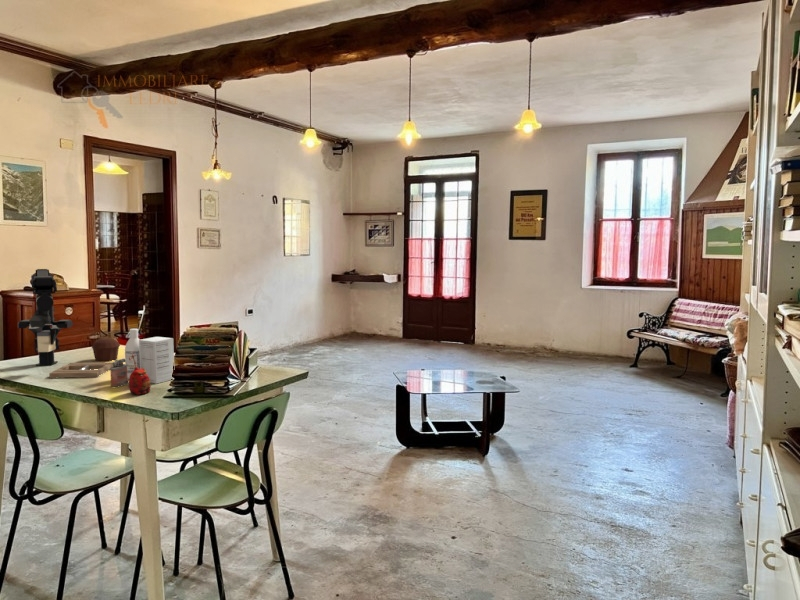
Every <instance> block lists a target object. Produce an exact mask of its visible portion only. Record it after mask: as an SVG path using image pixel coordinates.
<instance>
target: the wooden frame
mask: <svg viewBox="0 0 800 600" xmlns="http://www.w3.org/2000/svg"><path fill="white" fill-rule="evenodd" d="M113 362H114V361H107V362H69V363H68V364H66V365H63V366H62V367H60V368H57V369H55V370H53V371H52V372H49V374H48V375H49V379H57V378H56V377H87V378H99V377H100V376H99V375H101V374H102V375H103V373H104V374H106V373H107V372H109V371H110V368H111V367H113ZM90 369H91V370H90ZM94 369H98V370H94ZM108 370H109V371H108ZM106 371H107V372H106ZM102 375H101V376H102ZM98 376H99V377H98Z"/></svg>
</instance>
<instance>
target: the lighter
mask: <svg viewBox="0 0 800 600" xmlns="http://www.w3.org/2000/svg"><path fill="white" fill-rule="evenodd" d="M112 362H113V367H111V368H110V370H109V371H110V388H111V387H117V388H119V387H118V386H121V385H124V384H126V385H128V384H129V379H128V374H127V367H128V364H125V362H126V360H125V358H121V359H116V360H114V361H112ZM127 383H128V384H127ZM124 386H125V385H124ZM121 387H122V386H121Z"/></svg>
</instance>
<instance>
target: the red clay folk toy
mask: <svg viewBox="0 0 800 600" xmlns="http://www.w3.org/2000/svg"><path fill="white" fill-rule="evenodd" d="M131 354H132V353H131ZM135 356H136V355H135ZM130 357H131V358H130ZM130 357H129V360H131V359H132V358H133V359H134V355H133V354H132V356H130ZM134 364H135V369H134V371H133V372H132V373H131V375H130V379H128V388H129V392H130V394H132V395H133V394H135V395H136V396H140V395H143V394H148V393H150V391H151V388H152V387H151V386H152V385H151V383H150V379H149V377H148V375H147V373H146V371H145V370H144V369H143V368H142V369H138V368H137V366H136V362H135V359H134ZM135 395H134V396H135Z"/></svg>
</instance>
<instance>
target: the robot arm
mask: <svg viewBox="0 0 800 600" xmlns="http://www.w3.org/2000/svg"><path fill="white" fill-rule="evenodd" d="M30 278H31V279H30V280H31V289H32V294H33V295H35V303H36V305H35V306H36V310H34V315H33V316H31V317H30V319H23V320H19V321H18V322H17V328H18V329H27V328H28V329H27V330H28V331H30V332H32V333H33V335H34V336H35V337H36V338H35V337H34V353H38V363H36V364H35V366H53V365H55V364H57V363H58V361H57V360H56V361H55V351H58V350H60V340H59V339H58V337H57V336H58V335H59V333H60V332H61V329H68V328H71V327H73V324H74V323H73V322H74V321H72V320H71V319H60V320H57V321H56V318H55V317H54V312H55V311H56V310H55V308H54V304H55V303H54V298H53V295H55V294H56V292H58V287H57V281H56V280H55V279H54V275H53V273H51V272H50V269H47V268H37V269H35V272H34V273H33V274H32V275H31V277H30ZM52 294H53V295H52ZM44 330H50V331H51V345H53V344H54V342H55V347H56V349H55V350H52V351H50V352H38V341H37V333H38V332H41V331H44Z"/></svg>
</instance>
